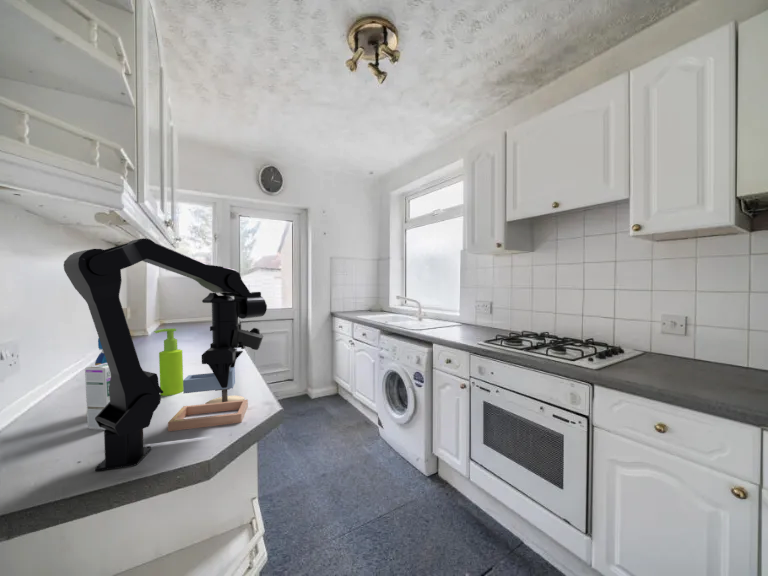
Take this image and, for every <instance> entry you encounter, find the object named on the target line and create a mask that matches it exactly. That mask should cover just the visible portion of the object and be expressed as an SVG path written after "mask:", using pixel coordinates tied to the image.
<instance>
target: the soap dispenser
mask: <svg viewBox="0 0 768 576" xmlns="http://www.w3.org/2000/svg"><path fill="white" fill-rule="evenodd" d="M176 331H177V329H176V328H160V329H157V330H155V331H153V333H155V334H158V333H164V332H166V339H164V340H163V350H162V351H159V353H158V363H159V367H158V368H159V387H160V389H161V390H162V391H163V393H159V394H160V396H163V397H165V396H166V397H167V396H174V395H178V394H181V393H183V380H184V370H183V369H184V368H183V367H184V366H183V361H184V360H183V349H181V348H180V349H178V339H177V338H176V337H175V332H176ZM174 337H175V338H174Z"/></svg>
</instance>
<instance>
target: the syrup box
mask: <svg viewBox="0 0 768 576" xmlns="http://www.w3.org/2000/svg"><path fill="white" fill-rule="evenodd" d="M84 377H85V381H84V382H85V395H86V396H85V398H86V400H85V401H86V416H87V417H86V418H87V421H86V422H87V428H88V429H90V430H98V431H105V428H102V427H99V426H98V424H97V422H96V420H95V417H96V416H97V415H98V414H99V413H100V412H101V411H102V410H103V409H104V408H105V406H106V405H107V404H108V403H109V402H110V396H109V385H110V379H111V372H110V369H109V366H108V363H104V364H100V365H93V366H88V367H87V366H86V367H85V368H84Z"/></svg>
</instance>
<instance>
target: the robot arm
mask: <svg viewBox="0 0 768 576" xmlns="http://www.w3.org/2000/svg"><path fill="white" fill-rule="evenodd" d="M140 262H144V263H147V264H150V265H152V266H155V267H158V268H162V269H164V270H166V271H169V272H172V273H175V274H177V275H181V276H183V277H186V278H189V279H191V280H193V281H195V282H197V283H198V284H199V285H200V286H201V287H203V288H205V289H207V290H209V291H210V292H209V293H208V295H207V296H205V297H204V298H203V299H202V300H201V302H202V303H203V304H211V325H210V326H209V332H211V333H212V335H211V336H212V343H210V345H209V346H210V348H208V349H206V351H204V352H203V353H202V354H201V365H208V366H209V368H210V370H211V371H212V373H214V375H215V376H216V378H217V380H218V382H219V384H220V385H221V387H222V388H226V387H227V385H228V379H229V373H230V367H235V368H236V362H237V360H238V358H239V357H240V356H241V354H242V353H244V352H243V350H244V349H245V348H246V347H247V348H250V349H251V350H255V351H258V350H259V349H260V346H261V344H262V341H263V339H264V335H263V334H261V332H260V331H261V330H260V328H257V327H253V328H252V329H251V330H248V329H246V330H245V329H242V324H241V323H239V319H240V320H241V319H251V318H252V319H253V318H254V319H255V318H260V317H261V318H262V317H263V316H265V314H266V313H267V309H268V305H267V301H266V300H265V298H264V297H263V296H262V292H261V291H252V292H251V291H250V289H249V288H248V287H247V285H246V284H245V283H244V281H243V279H242V277H241V273H240V272H239V271H237V269H234V268H229V267H226V266H221V265H220V266H219V265H213V264H209V263H205V262H202V261H200V260H198V259H195V258H192V257H191V256H188V255H186V254H183V253H181V252H178V251H176V250H173V249H170V248H168V247H167V246H164V245H162V244H159V243H158V242H157V243H156V242H155V241H153V240H152V239H150V238H147V237H145V238H137V239H132V240H130V241H129V242H126V243H124V244H120V245H117V246H113V247H110V248H109V247H108V248H106V249H104V248H91V249H86V250H79V251H75V252H73V253H72V254H70V255H68V256H67V257H66V259H65V260H64V261H63V269H64V273H65V275H66V276H67V277H68V279H69V281H70V282H71V284H72V286H73V288H74V289H75V290H76V291H77V292H78V294H79V295H80V296H81V297H82V298H83V300H85V302H86V304H87V306H88V310H89V312H90V316H91V319H92V321H93V324H94V327H95V330H96V333H97V335H98V336H97V337H98V338H99V340H100V343H101V345H102V348H103V351H104V354H105V357H106V360H107V363H108V366H109V369H110V372H111V379H110V385H109V396H110V402H109V403H108V404H107V405H106V406H105V408H104V409H103V410H102V411H101V412H100V413H99V414H98V415H97V416H96V417H95V420H96V422H97V424H98V426H99V427H102V428H105V430H103V437H104V439H103V441H104V445H103V446H104V458H103V460H102V461H101V462H100V463H98V464H97V466H96V467H95V468H94V471H96V472H97V471H106V470H112V469H120V468H126V467H134V466H137V465H139V463H140V462H141V461H143V459H144V458H145V457H146V456H147V455H148V453H149V452H150V451H151V450H152V446H151V445H149V446H145V444H144V429H146V428H148V427H150V424H151V421H152V418H153V416H154V412H155V411H156V410H157V409H158V406H159V405H160V404H161V401H162V399H161V395H160V393H163V391H162V390H161V389H160V381H159V377H158V373H155V372H151V371H146V370H143V368H142V367H141V363H140V360H139V358H138V357H139V356H138V354H137V350H136V348H135V345H134V341H133V338H132V335H131V331H130V328H129V325H128V322H127V318H126V316H125V313H124V309H123V306H122V305H123V304H122V303H121V299H120V292H121V287H122V272H121V270H124V269H126V268H129V267H132V266H134V265H136V264H138V263H140ZM218 294H221V295H218ZM232 297H233V298H232ZM239 348H240V350H238V349H239Z"/></svg>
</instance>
